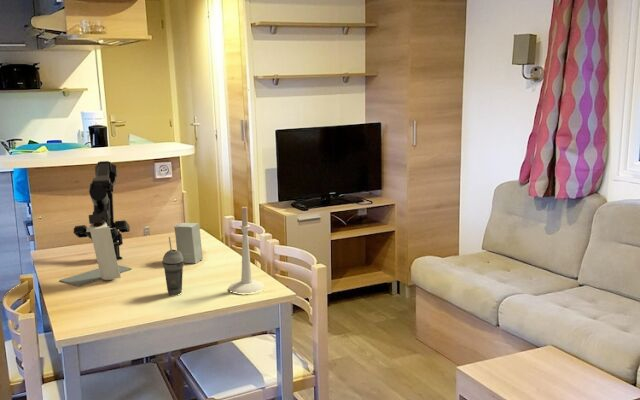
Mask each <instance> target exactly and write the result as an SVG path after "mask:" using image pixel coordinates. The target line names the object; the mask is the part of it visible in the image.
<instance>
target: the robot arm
mask: <svg viewBox="0 0 640 400" xmlns="http://www.w3.org/2000/svg"><path fill="white" fill-rule="evenodd" d="M94 175H95V177H94V178H92V180H91V183H90V184H89V189H88V190H89V191H88V192H89V195H90V199H91V202H92V204H93V211H92V214H88V222H89V223H88V224H90V225H91V224H93V223H96V222H98V223H100V222H106V223H107V227H110V232H111V236H112V241H113V245H114V250H115V254H116V259H117V261H119V260H123V257H122V256H121V252H120V246H122V245H123V244H124V243H123V235H122V233H123V234H124V233H129V232H130V230H131V229H130V224H129V223H128V222H127V221H126V220H123V219H122V220H115V212H114V210H115V209H114V190H115V187H114V186H115V184H116V183H117V178H118V176H119V175H118V168H117V165H116V164H114V163H112V162H111V161H109V160H103V161H102V160H100V161H98V162H97V164H96V165H95V166H94ZM73 234H74V235H75V236H76V237H77V238H81V239H82V238H89V239H90V240H92V237H91V233H90V228H89V227H87V226H86V225H85V224H83V225H75V226H74V228H73Z"/></svg>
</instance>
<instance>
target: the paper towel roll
mask: <svg viewBox="0 0 640 400" xmlns="http://www.w3.org/2000/svg"><path fill="white" fill-rule="evenodd" d="M88 228H90V233H91V237H92V239H91V242H92V243H93V244H92V245H93V249H94V252H95V253H94V254H95V257H96V261H97V265H98V268H99V270H100V275H101V278H102V279H101V280H103V281H110V280H115V279H121V273H120V272H119V268H118V265H119V264H118V260H117V259H116V254H115V250H114V245H113V241H112V236H111V232H110V227H107V223H106V222H100V223H98V222H96V223H93V224H90V225H89V226H88Z"/></svg>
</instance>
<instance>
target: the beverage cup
mask: <svg viewBox="0 0 640 400" xmlns="http://www.w3.org/2000/svg"><path fill="white" fill-rule="evenodd" d="M168 242H169V248H170V249H169V250H168V251H166V252H165V253H164V255H163V257H162V267H163V269H164V274H165V275H164V276H165V281H166V289H167V295H168V294H169V295H168V296H170V295H177V296H179V295H178V294H180V293H183V292H182V290H183V272H184V270H183V268H184V264H185V263H184V260H183V256H182V254H181V253H180V252H179V251H177V249H173V248H172V247H173V246H172V239H171V237H170V236H169V237H168ZM180 295H181V294H180Z"/></svg>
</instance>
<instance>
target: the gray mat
mask: <svg viewBox="0 0 640 400" xmlns="http://www.w3.org/2000/svg"><path fill="white" fill-rule="evenodd" d="M118 268H119V272H120V274H122V273H124V272H128V271H131V270H132V269H133V267H129V266H124V265H120V264H118ZM99 280H100V281H101V280H103V279H102V278H101V275H100V270H99V267H98V268H94V269H92V270H89V271H86V272H82V273H78V274H76V275H71V276H69V277H65V278H61V279H59V282H60V283H64V284H68V285H72V286H75V287H80V286H85V285H86V284H87V285H88V284H89V283H93V282H96V281H99Z"/></svg>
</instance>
